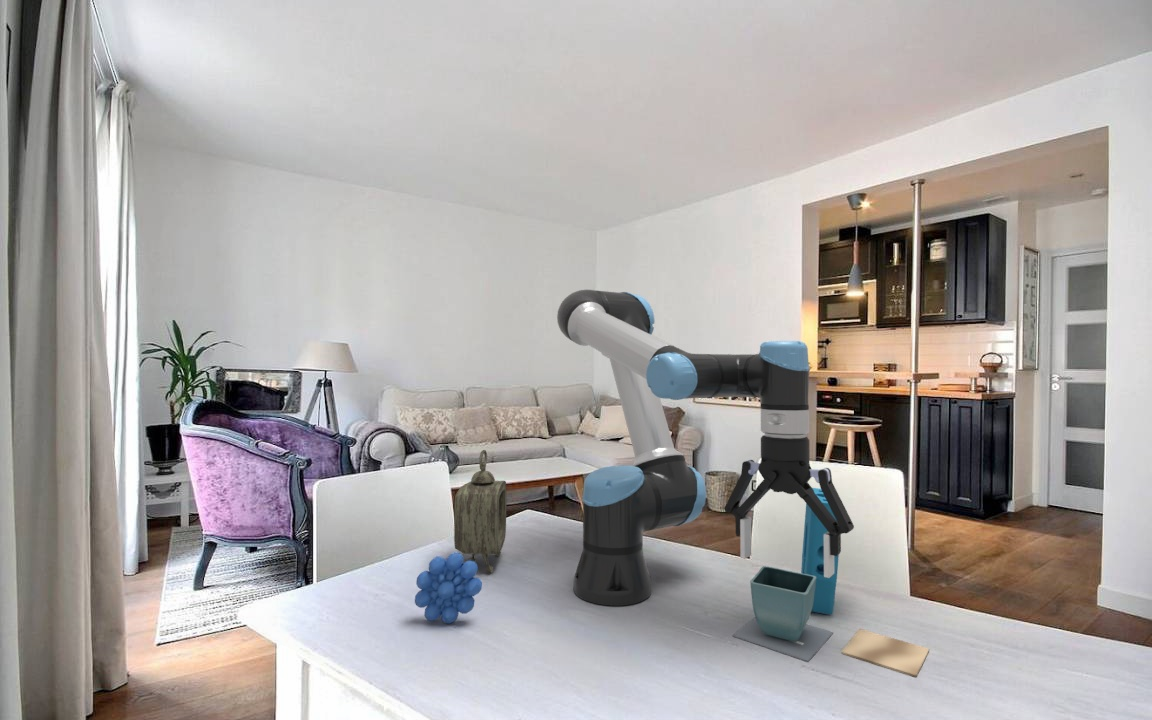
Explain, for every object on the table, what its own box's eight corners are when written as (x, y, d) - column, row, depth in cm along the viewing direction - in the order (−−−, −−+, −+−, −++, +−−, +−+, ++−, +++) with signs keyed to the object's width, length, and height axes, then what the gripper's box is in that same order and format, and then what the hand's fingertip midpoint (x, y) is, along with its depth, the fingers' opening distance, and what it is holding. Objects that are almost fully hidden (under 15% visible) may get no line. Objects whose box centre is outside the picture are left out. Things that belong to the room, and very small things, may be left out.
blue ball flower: (487, 613, 101) (488, 545, 101) (478, 631, 94) (478, 558, 94) (423, 610, 102) (424, 543, 102) (409, 628, 95) (409, 556, 95)
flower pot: (806, 652, 87) (807, 593, 87) (748, 637, 92) (749, 581, 92) (816, 629, 95) (817, 575, 95) (762, 616, 99) (762, 565, 99)
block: (834, 619, 99) (843, 505, 99) (803, 613, 101) (812, 501, 100) (826, 593, 110) (834, 490, 110) (799, 588, 112) (806, 487, 112)
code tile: (732, 636, 93) (732, 634, 93) (762, 612, 102) (762, 610, 102) (808, 662, 85) (808, 660, 85) (833, 633, 94) (833, 631, 94)
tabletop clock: (496, 577, 117) (497, 455, 118) (452, 576, 118) (453, 455, 118) (505, 553, 132) (506, 445, 132) (467, 553, 132) (467, 445, 132)
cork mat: (841, 653, 87) (841, 651, 87) (859, 630, 95) (859, 628, 95) (916, 677, 81) (916, 675, 81) (929, 650, 89) (929, 648, 89)
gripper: (704, 431, 99) (705, 554, 98) (860, 443, 82) (862, 591, 82) (724, 428, 104) (725, 544, 104) (874, 438, 88) (875, 577, 88)
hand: (785, 565), depth 93 cm, fingers open, 13 cm apart
